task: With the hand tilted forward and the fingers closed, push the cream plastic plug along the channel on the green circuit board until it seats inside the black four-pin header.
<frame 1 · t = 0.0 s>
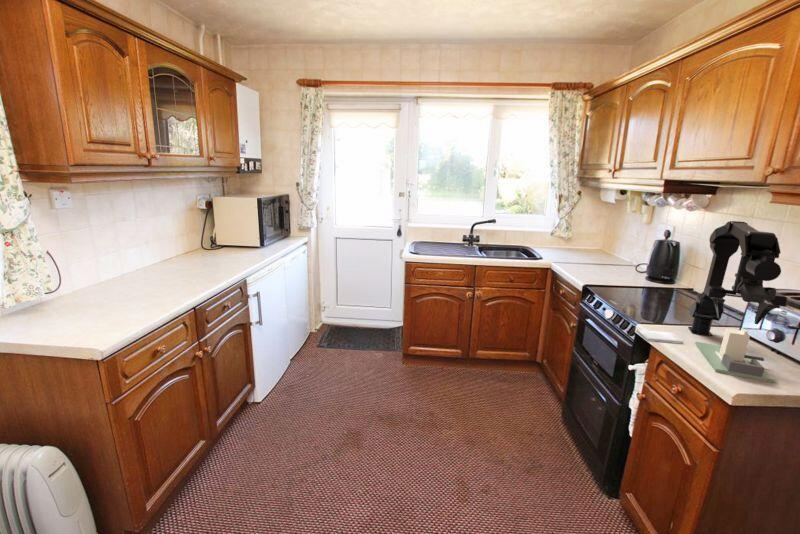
hand: (737, 321, 119), 15 cm above the table, tool pointing down, fingers open, 9 cm apart
board: (730, 361, 124), on the table
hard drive: (658, 339, 142), on the table
plug: (741, 344, 123), point 6 cm above the table, slide at 0.0 cm
header: (739, 371, 118), resting on board
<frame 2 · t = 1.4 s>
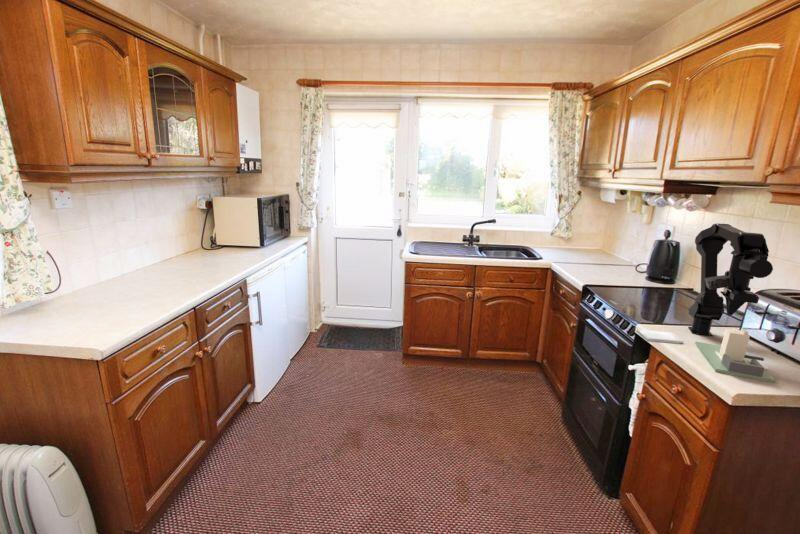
hand: (729, 314, 130), 13 cm above the table, tool pointing down, fingers closed
nothing on the table moved.
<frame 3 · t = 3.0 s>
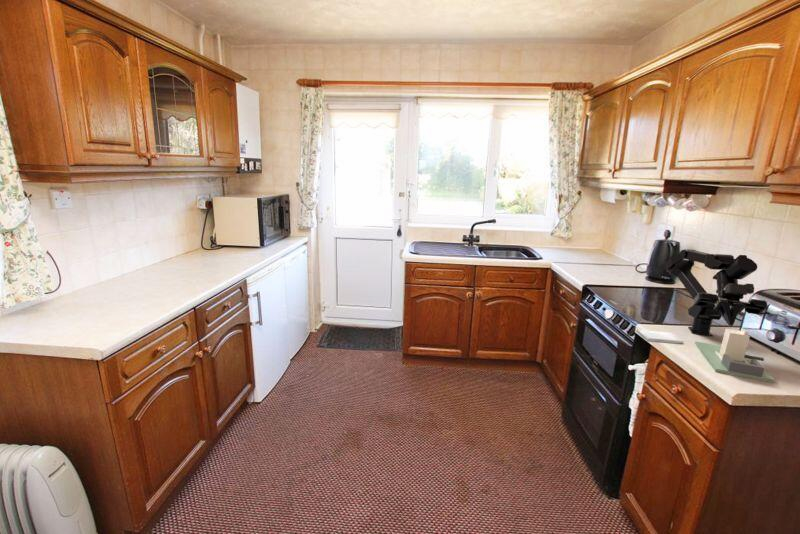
hand: (731, 325, 127), 10 cm above the table, tool tilted 45°, fingers closed
nothing on the table moved.
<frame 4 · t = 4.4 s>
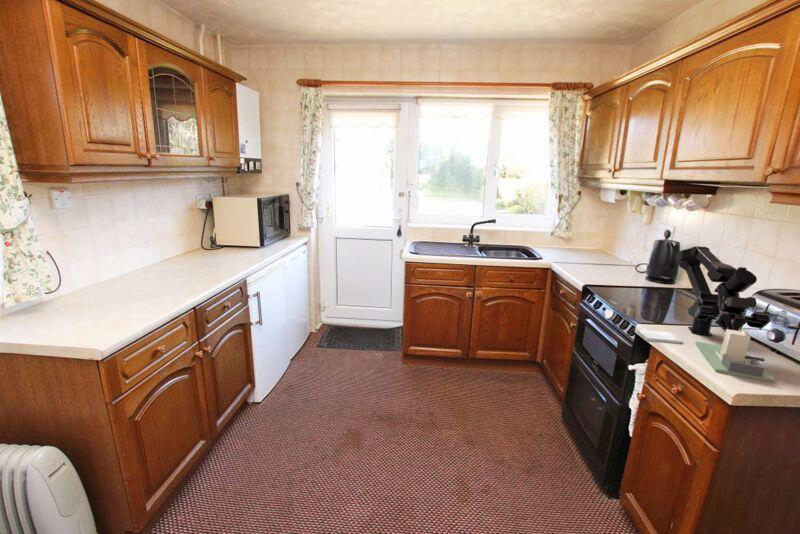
hand: (733, 339, 125), 7 cm above the table, tool tilted 45°, fingers closed, pressing on plug
plug: (741, 345, 122), point 6 cm above the table, slide at 0.5 cm, touching gripper
everything else where it was.
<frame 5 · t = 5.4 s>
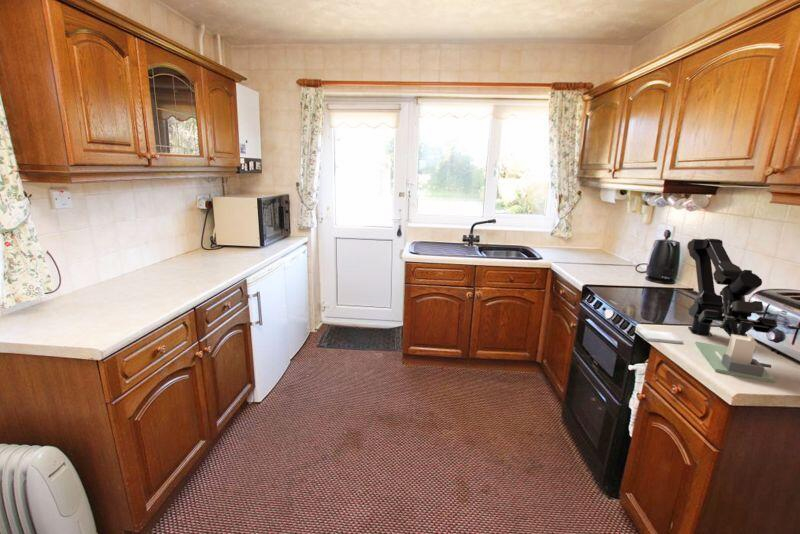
hand: (738, 345, 120), 7 cm above the table, tool tilted 45°, fingers closed, pressing on plug
plug: (747, 350, 118), point 6 cm above the table, slide at 5.0 cm, touching gripper, header
everything else where it was.
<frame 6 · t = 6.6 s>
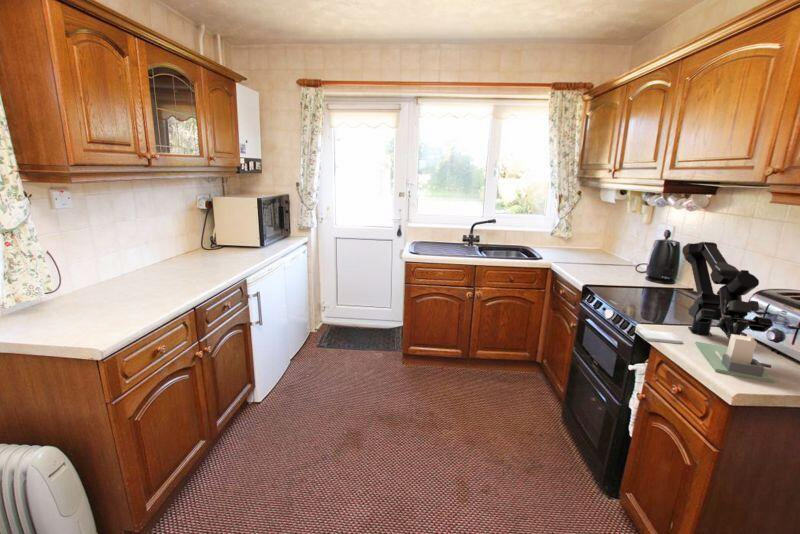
hand: (734, 343, 123), 6 cm above the table, tool tilted 45°, fingers closed
plug: (747, 350, 118), point 6 cm above the table, slide at 5.0 cm, touching header
everything else where it was.
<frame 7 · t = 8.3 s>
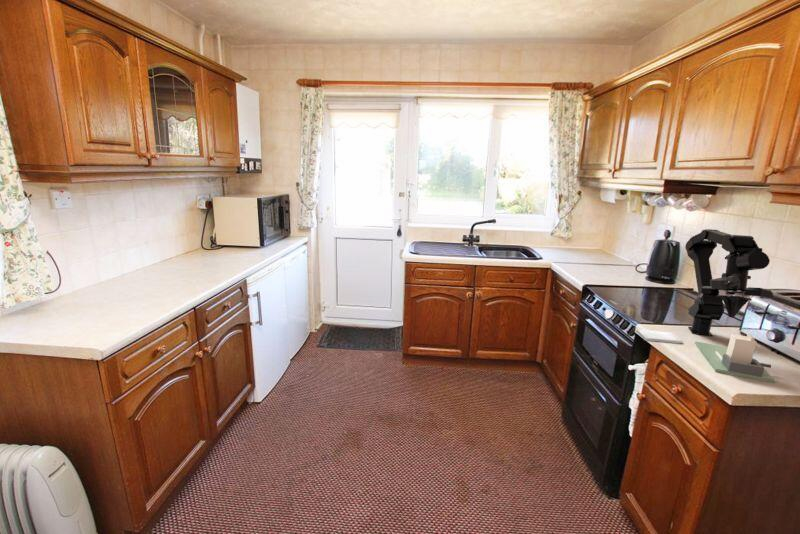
hand: (731, 317, 128), 13 cm above the table, tool tilted 20°, fingers closed
nothing on the table moved.
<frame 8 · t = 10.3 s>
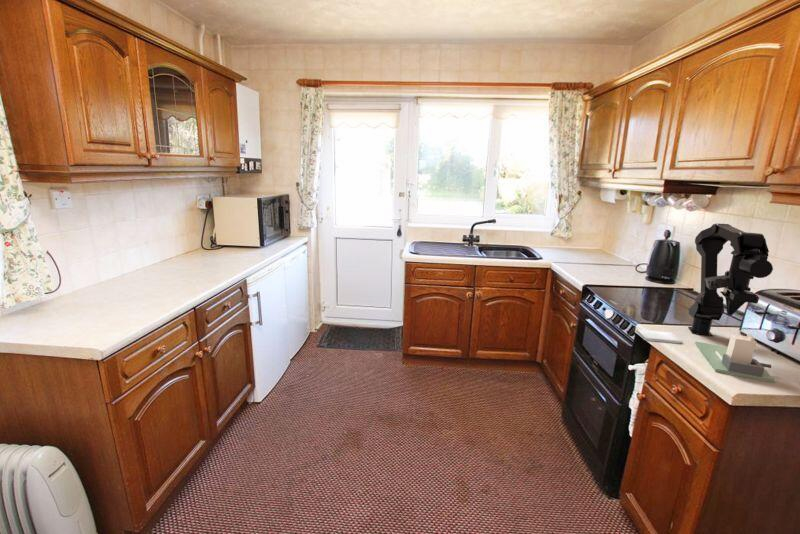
hand: (729, 314, 130), 13 cm above the table, tool pointing down, fingers closed
nothing on the table moved.
at the end: plug slide at 5.0 cm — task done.
